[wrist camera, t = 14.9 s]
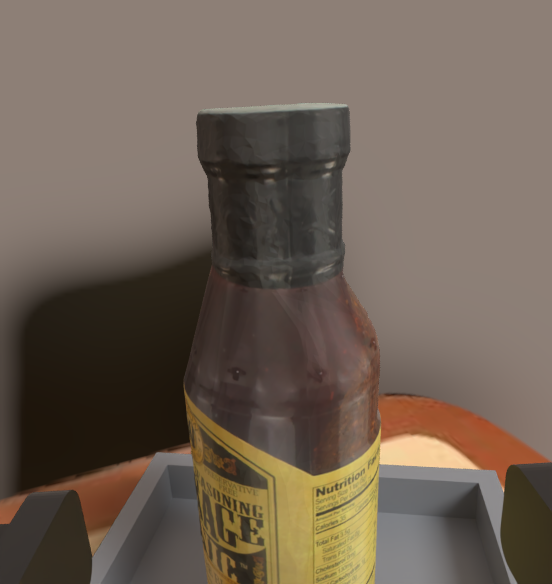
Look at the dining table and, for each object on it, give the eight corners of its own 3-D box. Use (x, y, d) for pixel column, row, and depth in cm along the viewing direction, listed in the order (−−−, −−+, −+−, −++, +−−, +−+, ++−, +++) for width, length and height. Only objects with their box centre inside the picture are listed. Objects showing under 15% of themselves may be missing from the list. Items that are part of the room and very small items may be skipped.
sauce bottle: (201, 599, 22) (133, 115, 16) (331, 552, 24) (317, 105, 18) (244, 768, 16) (164, 103, 10) (412, 689, 18) (436, 91, 12)
